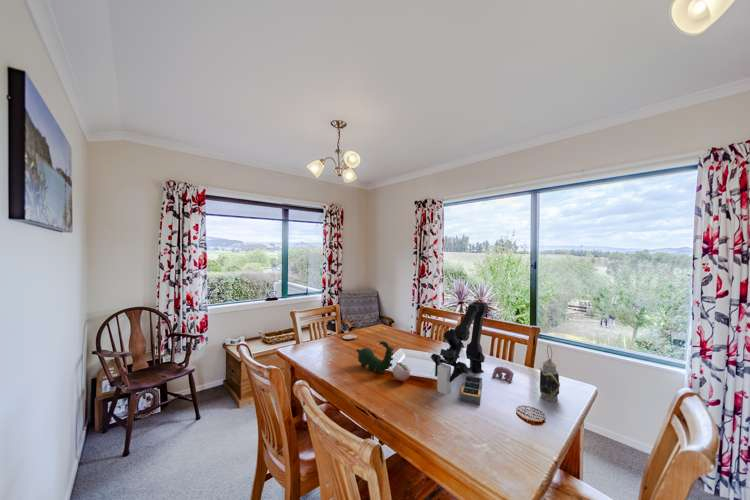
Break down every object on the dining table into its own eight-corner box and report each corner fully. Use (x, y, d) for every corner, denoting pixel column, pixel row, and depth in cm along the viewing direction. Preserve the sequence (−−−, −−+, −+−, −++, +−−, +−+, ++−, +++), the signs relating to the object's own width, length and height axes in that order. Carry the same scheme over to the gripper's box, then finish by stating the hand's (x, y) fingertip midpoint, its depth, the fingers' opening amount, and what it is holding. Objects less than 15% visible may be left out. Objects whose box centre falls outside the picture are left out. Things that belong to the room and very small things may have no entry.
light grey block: (441, 388, 141) (441, 363, 141) (450, 391, 138) (450, 366, 137) (437, 391, 138) (437, 365, 138) (446, 395, 135) (446, 369, 135)
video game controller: (513, 384, 149) (515, 370, 151) (510, 383, 146) (512, 369, 148) (494, 378, 156) (496, 365, 158) (491, 377, 153) (493, 363, 155)
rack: (464, 381, 148) (464, 374, 148) (482, 384, 145) (482, 377, 145) (460, 401, 129) (460, 392, 129) (480, 405, 126) (480, 396, 126)
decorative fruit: (389, 381, 149) (389, 362, 148) (398, 375, 155) (398, 357, 154) (403, 387, 142) (403, 367, 142) (412, 381, 148) (412, 362, 148)
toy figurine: (394, 374, 160) (359, 360, 174) (397, 342, 159) (362, 330, 173) (385, 380, 152) (350, 365, 167) (388, 346, 151) (352, 334, 165)
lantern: (537, 392, 138) (537, 341, 137) (556, 394, 135) (556, 343, 135) (542, 401, 129) (542, 347, 129) (562, 404, 127) (563, 349, 127)
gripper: (432, 337, 147) (420, 365, 139) (465, 347, 134) (453, 377, 126) (440, 349, 153) (429, 375, 145) (473, 358, 139) (462, 388, 132)
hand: (442, 379), depth 137 cm, fingers open, 8 cm apart
